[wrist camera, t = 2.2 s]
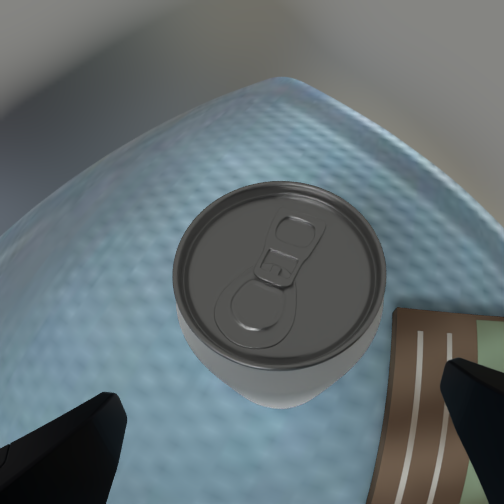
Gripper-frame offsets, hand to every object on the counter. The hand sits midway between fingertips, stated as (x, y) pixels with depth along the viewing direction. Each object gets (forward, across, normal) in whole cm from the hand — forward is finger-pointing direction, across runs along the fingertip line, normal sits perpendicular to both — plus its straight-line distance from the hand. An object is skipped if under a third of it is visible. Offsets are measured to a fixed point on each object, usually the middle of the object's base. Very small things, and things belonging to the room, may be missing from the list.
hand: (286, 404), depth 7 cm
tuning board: (+5, -14, +10) cm, 18 cm away
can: (+10, 0, +5) cm, 12 cm away
